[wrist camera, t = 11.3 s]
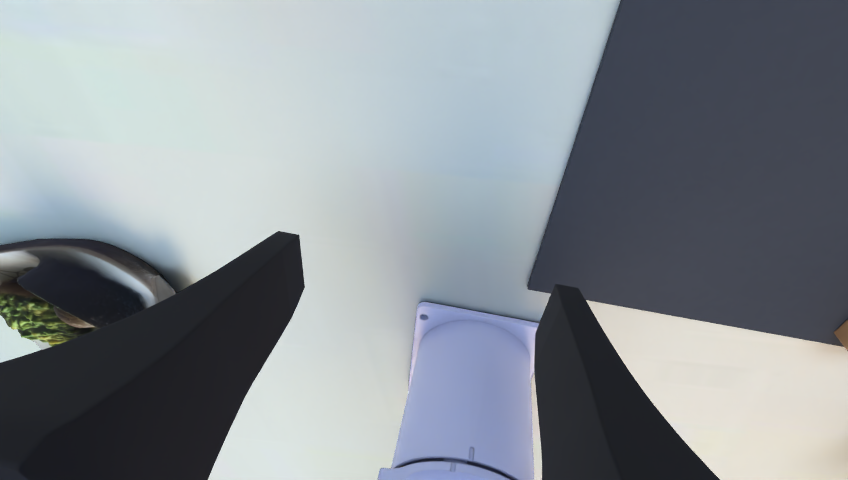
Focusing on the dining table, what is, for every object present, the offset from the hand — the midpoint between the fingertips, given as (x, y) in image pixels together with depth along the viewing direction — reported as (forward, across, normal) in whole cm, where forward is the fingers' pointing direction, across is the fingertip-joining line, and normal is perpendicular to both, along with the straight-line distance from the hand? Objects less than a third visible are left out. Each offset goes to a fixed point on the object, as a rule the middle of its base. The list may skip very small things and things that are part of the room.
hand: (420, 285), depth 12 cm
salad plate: (+10, +24, +18) cm, 32 cm away
